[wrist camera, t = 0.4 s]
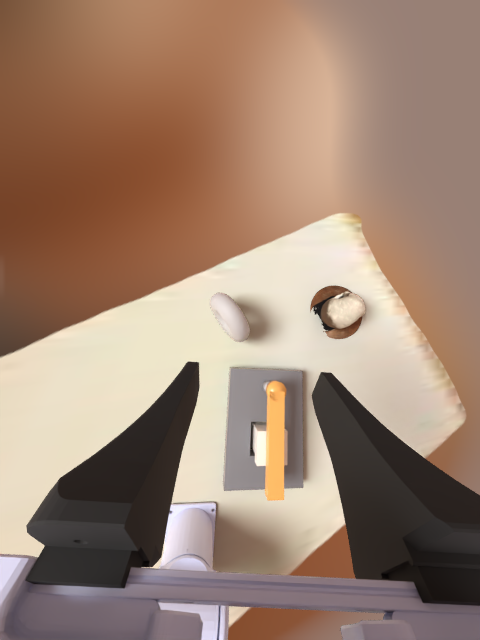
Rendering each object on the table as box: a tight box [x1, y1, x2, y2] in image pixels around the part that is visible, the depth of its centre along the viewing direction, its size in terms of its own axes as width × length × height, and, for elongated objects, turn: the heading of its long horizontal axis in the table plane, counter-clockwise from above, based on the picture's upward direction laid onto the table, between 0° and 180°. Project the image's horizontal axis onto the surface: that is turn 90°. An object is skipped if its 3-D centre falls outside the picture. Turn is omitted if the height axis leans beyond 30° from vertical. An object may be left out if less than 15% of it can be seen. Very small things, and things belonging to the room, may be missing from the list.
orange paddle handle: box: [265, 381, 286, 501], centre depth 31 cm, size 16×3×2 cm, turn 177°
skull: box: [310, 286, 365, 339], centre depth 44 cm, size 12×10×10 cm
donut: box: [210, 293, 250, 342], centre depth 37 cm, size 10×4×10 cm, turn 36°
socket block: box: [223, 367, 303, 491], centre depth 36 cm, size 20×14×7 cm
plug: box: [251, 422, 288, 466], centre depth 35 cm, size 8×5×6 cm, turn 177°
